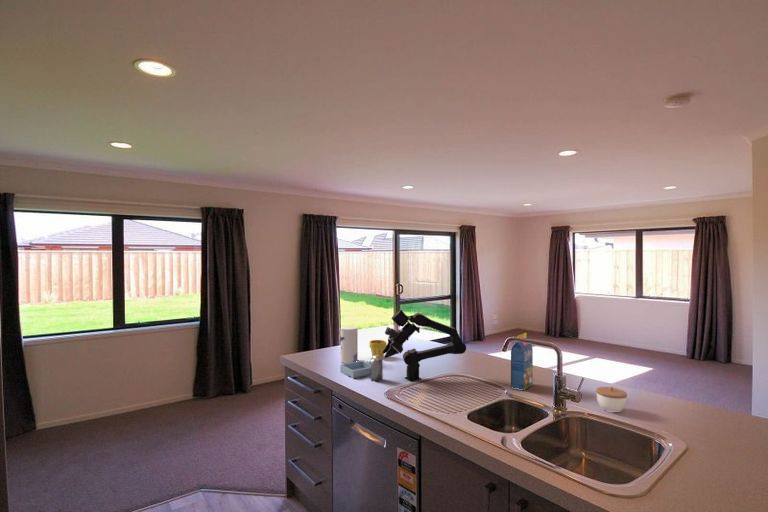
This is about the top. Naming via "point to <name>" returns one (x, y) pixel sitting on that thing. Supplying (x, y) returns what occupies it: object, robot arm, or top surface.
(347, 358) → the container
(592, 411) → the top surface
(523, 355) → the blue food package
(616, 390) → the lidded jar
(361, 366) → the bin
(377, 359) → the metallic can
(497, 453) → the top surface
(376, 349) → the plant pot
